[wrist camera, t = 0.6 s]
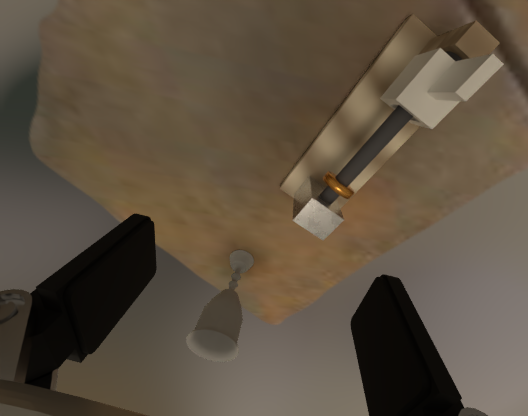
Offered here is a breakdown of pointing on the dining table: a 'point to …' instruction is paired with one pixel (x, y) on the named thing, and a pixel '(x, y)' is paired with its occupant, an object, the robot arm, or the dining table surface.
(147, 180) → the dining table surface
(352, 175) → the dark grey rod
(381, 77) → the beige rod holder
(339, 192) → the connector
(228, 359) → the chalice
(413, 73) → the sleeve
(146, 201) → the dining table surface
